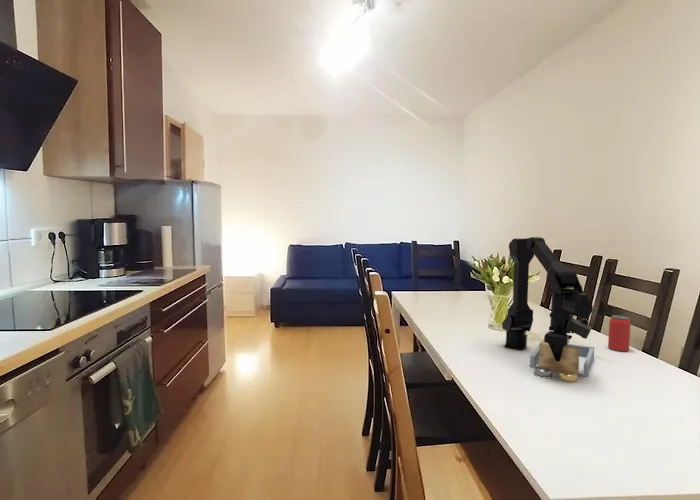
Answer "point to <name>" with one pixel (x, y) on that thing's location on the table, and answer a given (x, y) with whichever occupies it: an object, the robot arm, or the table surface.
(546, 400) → the table surface
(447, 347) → the table surface
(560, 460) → the table surface
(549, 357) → the wooden plank block
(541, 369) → the gunmetal token
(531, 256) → the robot arm
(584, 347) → the cubby
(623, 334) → the beer can
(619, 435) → the table surface
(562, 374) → the brass token
